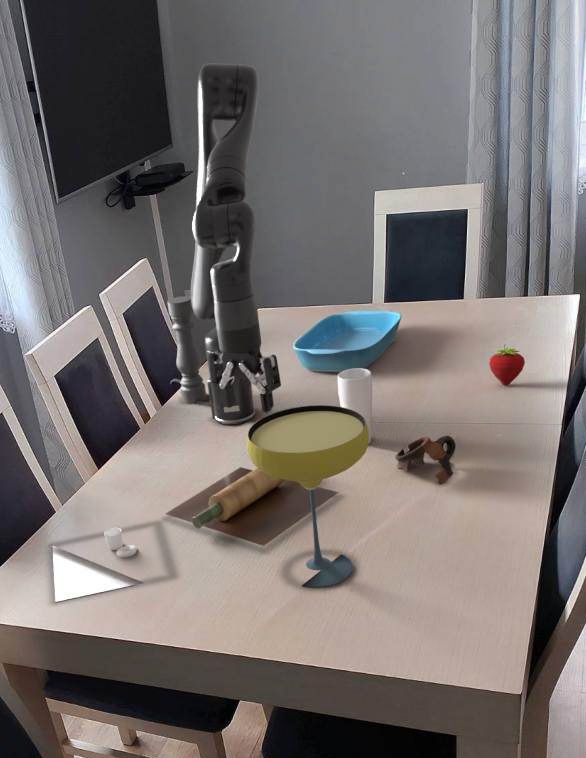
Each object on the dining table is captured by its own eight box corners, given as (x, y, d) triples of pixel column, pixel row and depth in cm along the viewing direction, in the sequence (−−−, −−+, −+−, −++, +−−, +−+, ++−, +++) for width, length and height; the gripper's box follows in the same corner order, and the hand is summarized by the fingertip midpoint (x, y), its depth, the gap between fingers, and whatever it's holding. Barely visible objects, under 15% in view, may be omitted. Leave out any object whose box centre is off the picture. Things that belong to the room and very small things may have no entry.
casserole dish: (333, 332, 248) (331, 307, 244) (411, 332, 237) (410, 306, 233) (283, 379, 221) (280, 351, 217) (368, 381, 210) (367, 353, 206)
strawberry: (520, 391, 191) (522, 347, 186) (485, 389, 195) (486, 346, 190) (526, 381, 195) (528, 338, 190) (492, 380, 199) (493, 337, 194)
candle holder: (178, 403, 217) (162, 304, 205) (187, 394, 222) (172, 296, 210) (201, 403, 215) (186, 303, 202) (210, 394, 219) (195, 295, 207)
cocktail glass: (265, 545, 151) (248, 411, 139) (371, 537, 148) (363, 399, 135) (261, 604, 135) (242, 459, 123) (380, 597, 132) (372, 447, 120)
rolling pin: (188, 531, 156) (184, 507, 154) (284, 469, 173) (282, 446, 170) (208, 538, 153) (204, 513, 151) (304, 474, 169) (302, 450, 167)
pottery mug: (434, 493, 158) (410, 456, 157) (404, 498, 167) (381, 463, 166) (477, 456, 162) (454, 419, 160) (445, 462, 171) (423, 427, 169)
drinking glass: (374, 448, 178) (371, 378, 170) (340, 450, 179) (336, 381, 172) (375, 434, 183) (371, 366, 176) (342, 436, 185) (338, 369, 178)
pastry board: (166, 519, 165) (165, 513, 164) (241, 472, 177) (240, 467, 177) (264, 551, 149) (263, 545, 148) (338, 497, 162) (338, 491, 161)
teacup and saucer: (142, 559, 153) (138, 539, 151) (97, 568, 152) (93, 548, 150) (136, 536, 161) (132, 517, 159) (94, 545, 160) (89, 526, 158)
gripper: (282, 317, 151) (292, 405, 158) (219, 314, 160) (231, 397, 167) (256, 331, 146) (267, 421, 154) (193, 326, 155) (206, 411, 163)
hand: (248, 408), depth 161 cm, fingers open, 8 cm apart
